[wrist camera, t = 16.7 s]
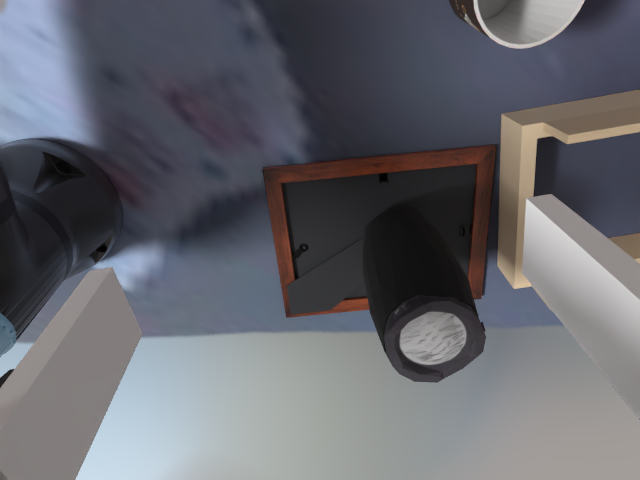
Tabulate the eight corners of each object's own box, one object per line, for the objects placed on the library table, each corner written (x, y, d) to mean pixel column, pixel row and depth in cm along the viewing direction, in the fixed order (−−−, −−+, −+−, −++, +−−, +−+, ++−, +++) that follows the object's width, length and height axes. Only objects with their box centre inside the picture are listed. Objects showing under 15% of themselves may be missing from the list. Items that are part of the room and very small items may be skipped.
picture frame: (286, 309, 60) (476, 291, 59) (286, 318, 58) (482, 300, 58) (263, 164, 50) (490, 141, 50) (262, 170, 48) (496, 146, 48)
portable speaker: (446, 210, 51) (514, 312, 34) (414, 278, 55) (459, 401, 37) (375, 188, 50) (407, 282, 32) (347, 259, 54) (362, 377, 36)
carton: (497, 265, 56) (531, 313, 48) (501, 113, 47) (544, 139, 39) (652, 240, 56) (715, 284, 47) (687, 81, 46) (772, 100, 38)
